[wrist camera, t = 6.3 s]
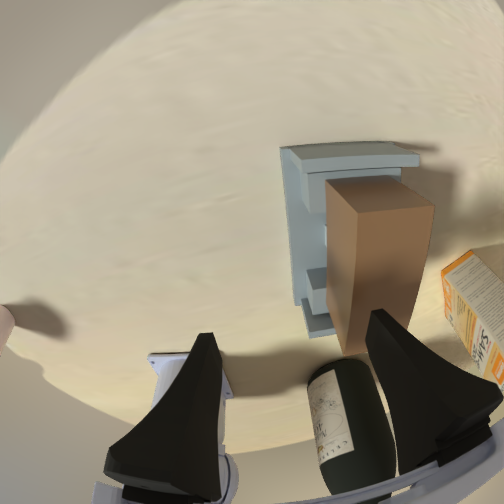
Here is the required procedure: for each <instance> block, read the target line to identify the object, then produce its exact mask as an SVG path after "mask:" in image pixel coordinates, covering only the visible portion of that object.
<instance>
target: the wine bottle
mask: <svg viewBox="0 0 504 504" xmlns="http://www.w3.org/2000/svg"><path fill="white" fill-rule="evenodd" d="M307 393H308V399H309V405H310V411H311V417H312V423H313V429H314V435H315V440H316V447H317V454H318V460H319V467H320V470H321V473H322V476H323V479H324V481H325V483H326V485H327V487H328V489H329V491H330V493H331V494H332V495H337V494H341V493H345V492H349V491H353V490H357V489H361V488H364V487H368V486H371V485H375V484H378V483H381V482H384V481H387V480H390V479H393V478H395V474H396V449H395V442H394V439H393V435H392V432H391V429H390V426H389V422H388V419H387V416H386V413H385V410H384V407H383V404H382V401H381V398H380V395H379V392H378V390H377V387H376V384H375V381H374V378H373V376H372V373H371V370H370V368H369V367H368V366H367V365H366V364H365V363H363V362H362V361H358V360H353V359H352V360H341V361H337V362H334V363H331V364H329V365H327V366H324V367H322V368H321V369H320V370H318V371H317V372H316V373H314V374H313V376H312V377H311V378H310V380H309V381H308V387H307ZM391 494H392V493H389V494H386V495H383V496H380V497H377V498H374V499H370V500H367V501H364V502H360V503H356V504H378V503H379V502H380V501H383V500H386V499H388V498H390V497H391Z"/></svg>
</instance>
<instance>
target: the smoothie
mask: <svg viewBox="0 0 504 504" xmlns="http://www.w3.org/2000/svg"><path fill="white" fill-rule="evenodd" d="M14 325H15V319H14V317H13V315H12V314H11V312H10V311H9V310H8V309H7V308H6V307H4V306H3V305H0V356H1V353H2V351H3V349H4V346H5V344H6V342H7V340H8V338H9V336H10V334H11V332H12V329H13V327H14Z"/></svg>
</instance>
